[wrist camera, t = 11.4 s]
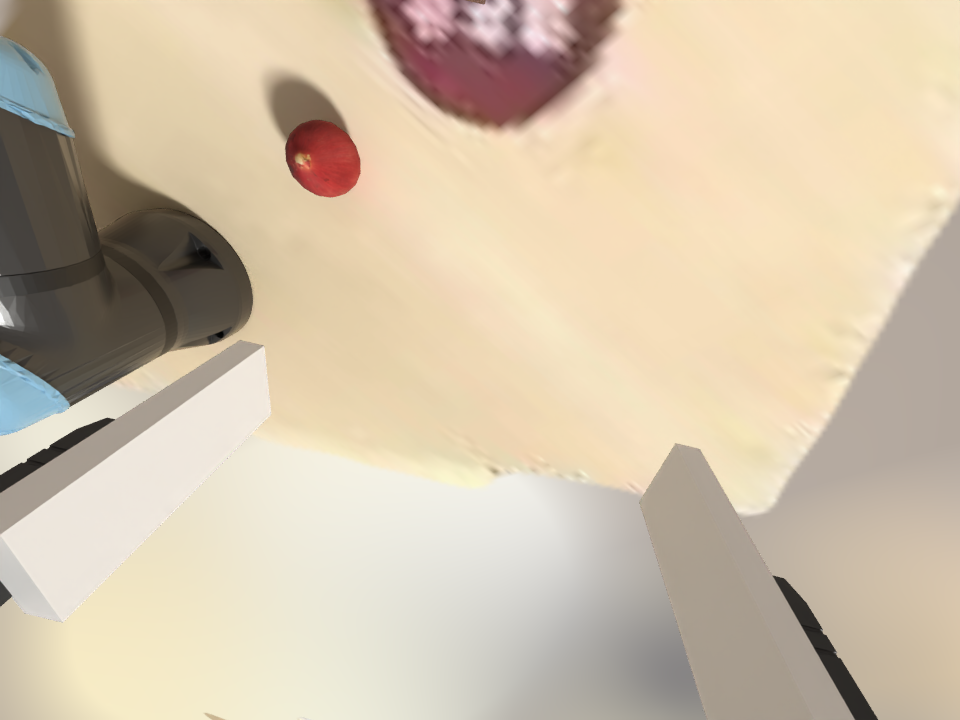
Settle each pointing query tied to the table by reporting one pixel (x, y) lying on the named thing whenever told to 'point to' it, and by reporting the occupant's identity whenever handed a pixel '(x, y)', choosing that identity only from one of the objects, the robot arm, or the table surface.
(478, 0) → the flat stove
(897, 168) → the table surface
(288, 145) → the onion
